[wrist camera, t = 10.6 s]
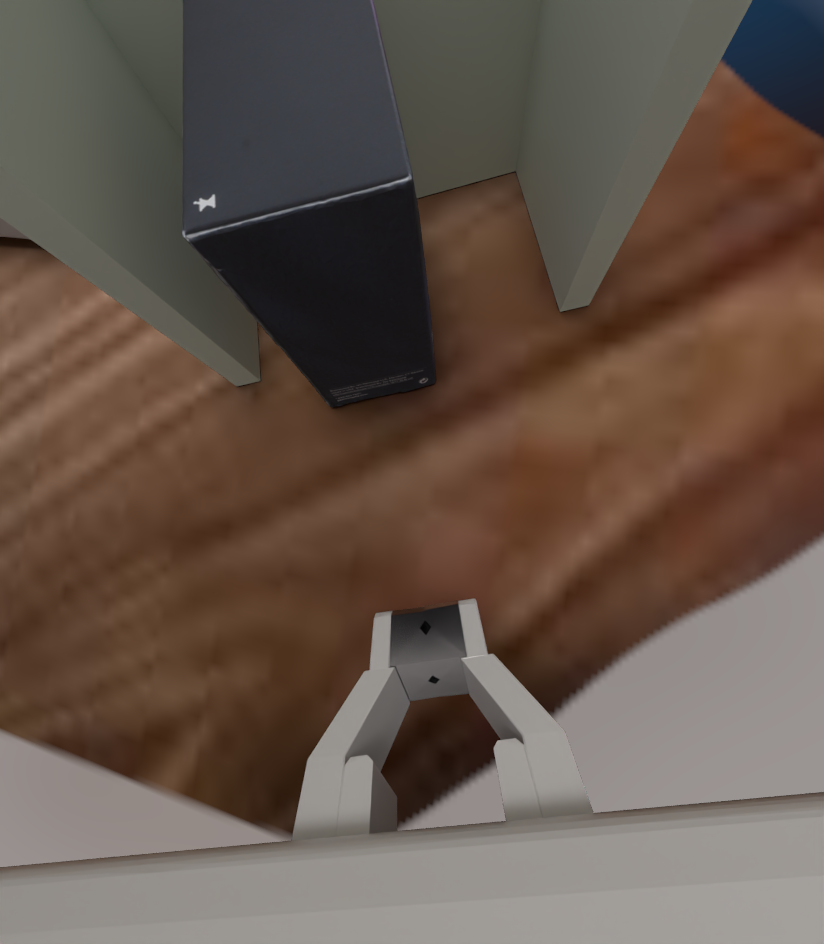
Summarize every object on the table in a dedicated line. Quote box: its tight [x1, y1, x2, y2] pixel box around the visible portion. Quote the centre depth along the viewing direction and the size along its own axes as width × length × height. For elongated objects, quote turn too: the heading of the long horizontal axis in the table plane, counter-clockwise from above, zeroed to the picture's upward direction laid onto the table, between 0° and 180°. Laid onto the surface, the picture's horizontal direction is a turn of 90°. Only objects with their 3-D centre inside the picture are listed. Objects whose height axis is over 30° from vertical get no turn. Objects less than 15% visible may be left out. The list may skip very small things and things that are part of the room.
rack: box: [0, 0, 752, 386], centre depth 14 cm, size 20×12×13 cm, turn 99°
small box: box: [182, 0, 436, 407], centre depth 14 cm, size 11×6×10 cm, turn 10°
